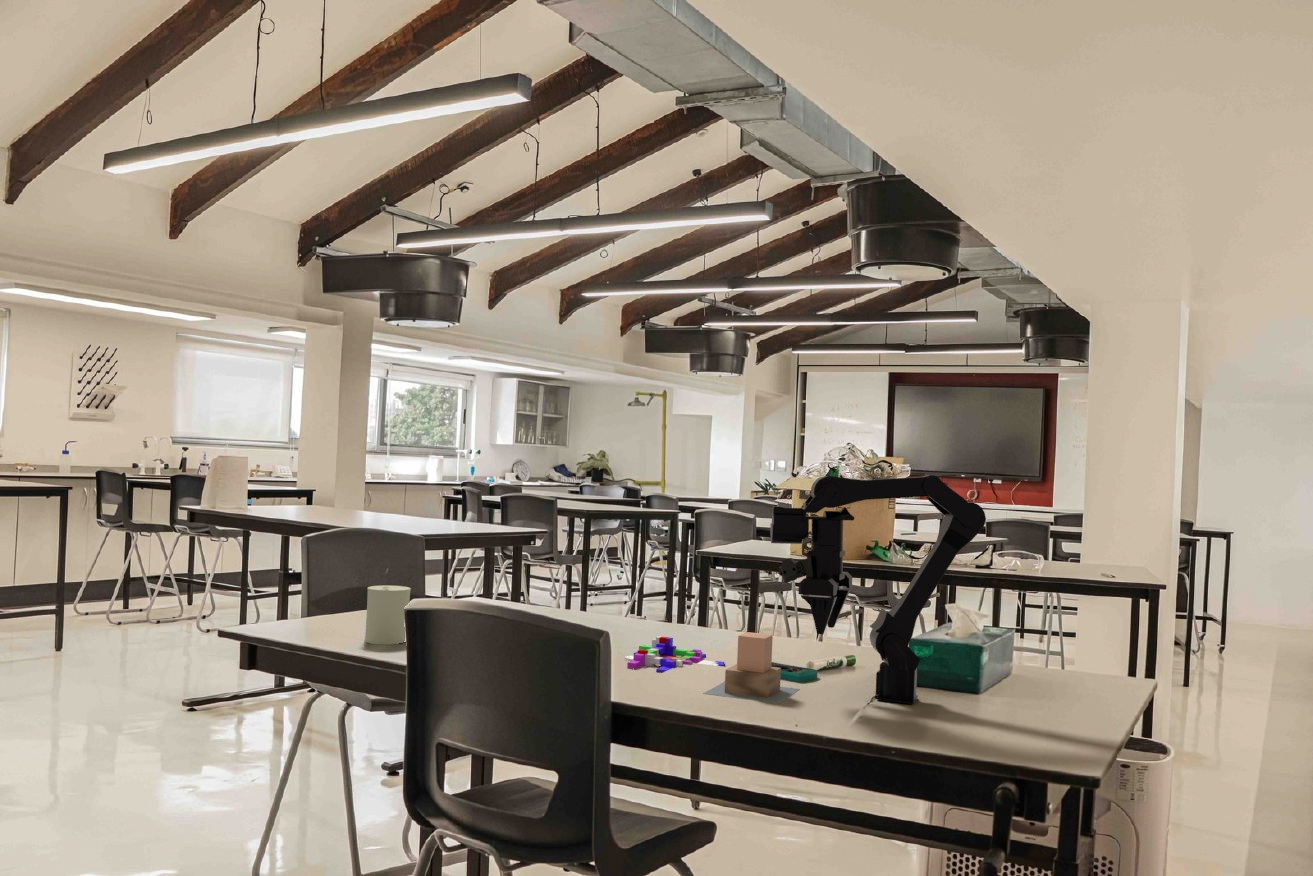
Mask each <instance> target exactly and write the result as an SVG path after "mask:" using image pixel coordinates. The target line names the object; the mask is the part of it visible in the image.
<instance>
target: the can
mask: <svg viewBox="0 0 1313 876" xmlns="http://www.w3.org/2000/svg"><path fill="white" fill-rule="evenodd" d="M366 590H367V597H366V598H367V599H366V604H367V605H366V618H365V619H366V621H365V633H364V634H365V635H364V640H363V641H364V642H365V643H366V644H370V645H378V646H379V645H380V646H381V645H382V646H383V645H384V646H392V645H393V644H396V645H400V644H399V643H403V642H404V641H405V627H404V607H405V606H406V605H407V604H408V603H409V602H410V600H411V590H412V588H411V587H410V586H409V587H408V586H403V585H383V584H382V585H372V586H368V587H367V589H366ZM409 604H410V603H409ZM403 644H404V643H403Z"/></svg>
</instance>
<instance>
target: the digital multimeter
mask: <svg viewBox="0 0 1313 876" xmlns="http://www.w3.org/2000/svg"><path fill="white" fill-rule="evenodd" d="M771 667H778V668H781V678H780V680H783V681H788V682H792V683H793V682H795V683H800V684H801V683H807V682H812V681H815V680H816V679H818V670H816V669H815V668H809V667H805V666H804V667H803V666H796V665H789V664H784V663H779V662H774V661H772V663H771Z"/></svg>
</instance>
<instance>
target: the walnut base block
mask: <svg viewBox="0 0 1313 876" xmlns="http://www.w3.org/2000/svg"><path fill="white" fill-rule="evenodd" d="M724 676H725V677H724V682H725V693H732V694H740V695H748V696H756V697H764V698H769V697H770V696H772V695H773V694H775V693H776V692H778V691H779V690H780V687H781V679H780V678H781V668H778V667H771V669H769V670H767V671H766V672H764V673H762V672H754V671H745V670H737V663H736V664H734V665H732V666H730V667H728V668H726V669H725V673H724Z"/></svg>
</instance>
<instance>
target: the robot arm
mask: <svg viewBox="0 0 1313 876" xmlns="http://www.w3.org/2000/svg"><path fill="white" fill-rule="evenodd" d="M920 497H924V498H926V499H927V500H928V501H929V503H931V504H932V505H933V507H935V509H936V510H938V511H939V512H940V513H941V514H942V515H943V518H942V521H941V523H940V526H939V530H938V534H937V539H936V540H935V543H934V544H933V546H932V548H931V549H930V550H929V553H927V555H926V557H925V558H924V560H923V562H922V564H921V565H920V567H919V568H918V570H917V572H916V573H915V574H914V576H913V578H912V579H911V581H910V583H909V584H908V586H907V587H906V589H905V591H904V592H903V594H902V595H901V597H900V599H899V601H898V602H896V604H895V606H894V607H893V608H891V609H890V610H889V611H886V610H885V608H880V610H879V612H878V615H877V617H876V619H875V621H874V622H873V623H871V624H870V625H869V627H870V628H871V631H870V633H869V642H870V644H871V647H872V648H873V649H874V650H875V651H876V652H877V653H878V654H879V655H880V659H881V660H882V662H881V663H880V664H879V670H878V671H876V675H875V695H876V700H878V701H883V702H884V701H885V702H890V703H899V704H908V705H914V704H915V702H916V701H917V700H918V697H919V695H917V683H918V681H917V680H918V667H919V664H920V661H921V658H920V657H919V656H918V655H917V654H916V653H915V652H914V651H913V650H912V649H911V648H910V647H909V645H910V642H911V640H912V637H913V635H914V630H915V627H916V622H917V619H918V617H919V615H920V614H921V612H922V610H923V609H924V607H925V606H926V604H927V603H928V601H929V599H930V598H931V596H932V594H933V593H934V592H935V590H936V588H937V586H938V585H939V584H940V582H941V581H942V578H943V577H944V575H945V574H946V572H947V570H948V569H949V567H951V566H950V565H951V564H952V562H953V561H954V559H955V557H956V555H957V554H958V553H959V552H960V551H962V549H964V548H965V547H966V546H967V545H968V544H969V543H971V541H973V539H974V538H975V537H976V536H977V535H978V534H979V533H980V532H981V531H982V530H983V528H984V527H985V525H986V521H987V518H986V513H985V511H984V509H983V508H982V506H981V505H979V504H977V503H975V502H971V501H967V500H966V499H965V498H964V497H963V496H961V495H960V494H959V493H957V492H956V491H955V490H953V489H952V488H951V487H949V486H948V485H947V484H946V483H944V482H943V481H942V479H941V478H940V477H939V476H937V475H934V474H933V475H932V474H930V475H929V474H926V475H923V476H916V477H915V476H913V477H898V478H897V477H895V478H881V479H880V478H879V479H856V478H849V477H848V478H847V477H839V476H830V475H829V476H828V475H825V476H821V477H818V478H816V480H815V481H813V483H812V485H811V487H810V495H809V497H808V498H807V499H806V500H805V501H804V502H803V503H802V505H801V507H783V506H779V505H778V506H775V505H774V506H772V514H771V522H770V527H769V529H770V533H769V534H770V544H780V545H781V544H788V545H789V544H791V545H802V544H803V541H804V540H806V539H809V533H810V520H811V533H810V534H811V542H810V549H809V550H808V551H807V552H806V558H803V559H801V560H797V561H796V560H794V558H792V557H789V558H787V559H784V560H781V566H779V567H778V568H779V571H778V575H779V576H780V577H781V578H782V581H783V583H784V584H788V583H790V582H792V581H797V579H800V578H803V577H804V578H803V579H802V580H801V581H799V582H798V590H797V591H798V595H800V597H801V599H804V601H805V602H806V603H807V604H808V605H809V606H810V611H811V614H812V618H813V622H814V627H815V630H816V634H817V635H824V634H825V631H826V629H827V627H828V628H831V629H832V628H833V629H834V628H835V626H836V624H837V622H838V619H839V617H840V615H841V612H842V610H843V607H844V606H845V603H846V602H847V599H848V596H849V595H850V593H851V588H852V587H853V576H852V575H851V574H850V573H849V571H843V569H844V566H843V563H844V561H843V559H844V557H845V556H846V550H845V549H844V521H854V520H855V516H854V515H852V514H851V513H850V511H849V510H848V508H847V507H844V506H846V505H851V504H854V503H857V502H861V501H866V500H869V501H870V500H883V499H885V500H886V499H901V498H905V499H906V498H920ZM842 506H843V507H842ZM838 507H842V508H841V509H840V510H824V511H823V515H821V516H817V515H807V514H817V513H818V512H820V511H822V510H823V509H824V508H828V509H829V508H830V509H832V508H838ZM844 587H846V588H844Z"/></svg>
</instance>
